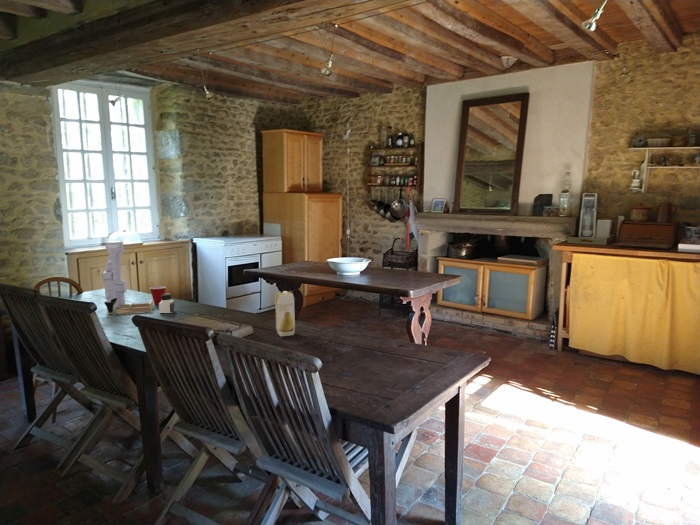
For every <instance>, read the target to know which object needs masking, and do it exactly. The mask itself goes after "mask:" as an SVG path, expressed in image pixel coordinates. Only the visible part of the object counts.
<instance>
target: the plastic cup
mask: <svg viewBox="0 0 700 525" xmlns="http://www.w3.org/2000/svg"><path fill="white" fill-rule="evenodd" d="M166 289H167V286H164V285H163V286H162V285H161V286H153V287H152V286H151V287H149V290H150V293H151V296H152V301H153V305H154V306H159V303H160V302H162V301H161V295H162V294H166Z"/></svg>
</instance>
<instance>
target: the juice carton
mask: <svg viewBox="0 0 700 525" xmlns="http://www.w3.org/2000/svg"><path fill="white" fill-rule="evenodd" d="M274 300H275V301H274V302H275V304H274V305H275V328H276V333H277V335H278V336H280V337H288V336H294V335H295V330H296V320H295V318H296V317H295V316H296V315H295V297H294V293H293V292H291V291H287V290H283V291H282V292H276V293H275V299H274Z"/></svg>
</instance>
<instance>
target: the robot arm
mask: <svg viewBox="0 0 700 525" xmlns="http://www.w3.org/2000/svg"><path fill="white" fill-rule="evenodd" d="M124 248H125V246H124V242H123V241H122V240H118V241H117V240H114V241H113V240H111V241H109V240H107V241H106V242H105V249H106V252H107V253H108V255H107V261H106V262H105V266H104V271H103V272H102V274H101V277H102V281H103V282H102V283H103V286H104V294H105V296H104V297H103V299H105V300H106V301H104V303H103V304H104V305H105V307H106V310H107V309H108V312H109V313H112V312H113V305H114V302H115V304H116V309H120V307H119V305H125V304H126V296H125V293H126V292H127V283H126V281H125V280H124V279H122V261H121V260H122V254H124V250H125V249H124Z"/></svg>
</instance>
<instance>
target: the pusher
mask: <svg viewBox="0 0 700 525" xmlns="http://www.w3.org/2000/svg"><path fill="white" fill-rule="evenodd" d="M128 304H129V307H130V308H134V304H135V303H134V301H133V300H130V303H128Z"/></svg>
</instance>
